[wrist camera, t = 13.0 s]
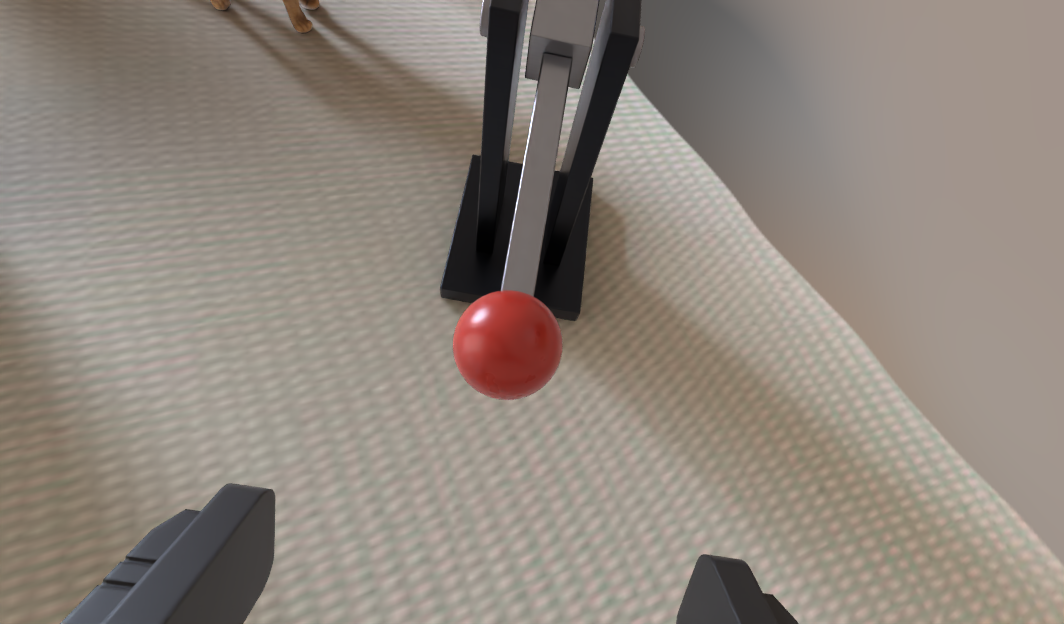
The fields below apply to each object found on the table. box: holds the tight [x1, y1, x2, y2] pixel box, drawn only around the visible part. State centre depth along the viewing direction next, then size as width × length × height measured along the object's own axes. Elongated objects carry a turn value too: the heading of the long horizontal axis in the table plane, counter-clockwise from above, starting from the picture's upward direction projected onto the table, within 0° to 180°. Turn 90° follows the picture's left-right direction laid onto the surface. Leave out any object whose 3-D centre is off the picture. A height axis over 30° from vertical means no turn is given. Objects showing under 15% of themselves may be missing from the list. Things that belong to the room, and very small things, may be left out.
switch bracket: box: [440, 0, 645, 321], centre depth 24 cm, size 10×8×16 cm
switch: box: [453, 0, 599, 400], centre depth 18 cm, size 15×4×4 cm, turn 172°
